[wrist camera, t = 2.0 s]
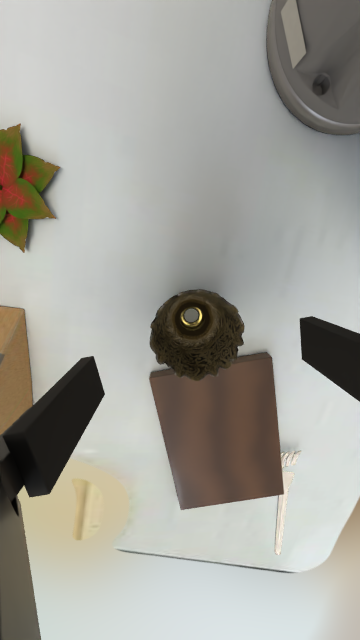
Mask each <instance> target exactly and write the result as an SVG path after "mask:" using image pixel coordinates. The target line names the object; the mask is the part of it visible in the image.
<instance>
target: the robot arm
mask: <svg viewBox="0 0 360 640" xmlns="http://www.w3.org/2000/svg"><path fill="white" fill-rule="evenodd" d="M267 54H268V62H269V67H270V72H271V75H272V79H273V82H274V84H275V87H276V89H277V91H278V93H279V95H280V97H281V99H282V100H283V102H284V104H285V105H286V106H287V108H288V109H289V110H290V111H291V112H292V114H293V115H294V116H295V117H296V118H298V119H299V120H300V121H301V122H303V123H304V124H306V125H307V126H309V127H311V128H313V129H315V130H317V131H320V132H323V133H328V134H334V135H349V134H355V133H359V132H360V0H272V2H271V6H270V11H269V17H268V25H267ZM300 333H301V351H302V360H304V361H305V362H307V363H308V364H309V365H311V366H312V367H313V368H315V369H316V370H317V371H319V372H320V373H321V374H323V375H324V376H326V377H327V378H328V379H330V380H331V381H332V382H334V383H335V384H336V385H338V386H339V387H341V388H342V389H343V390H345V391H346V392H347V393H349V394H350V395H351V396H353V397H354V398H355V399H357V400H358V401H360V334H359V333H356V332H353V331H351V330H348V329H345V328H343V327H340V326H337V325H334V324H332V323H329V322H326V321H323V320H321V319H318V318H315V317H313V316H311V317H305V318H300ZM104 395H105V393H104V390H103V386H102V383H101V380H100V376H99V373H98V369H97V366H96V363H95V359H94V356H91V357H85V358H81V359H80V360H79V361H78V362H77V363H76V364H75V365H74V366H73V367H72V368H71V369H70V370H69V371H68V372H67V373H66V374H65V375H64V376H63V377H62V378H61V379H60V380H59V381H58V382H57V383H56V384H55V385H54V386H53V387H52V388H51V389H50V390H49V391H48V392H47V393H46V394H45V395H44V396H43V397H42V398H41V399H40V400H38V401H37V402H36V403H35V404H34V405H33V406H32V407H30V408H29V409H27V410H26V411H25V412H24V413H23V414H22V415H21V416H20V417H19V419H17V420H16V421H15V422H14V423H13V424H12V425H11V426H10V427H9V428H7V429H6V430H5V431H4V432H3V433H2V434H1V435H0V640H41V636H40V629H39V623H38V616H37V610H36V603H35V597H34V590H33V583H32V577H31V570H30V564H29V557H28V550H27V544H26V537H25V530H24V524H23V517H22V511H21V504H20V501H19V499H18V497H17V494H18V493H19V491H20V490H21V489H22V487H23V486H25V488H26V490H27V492H28V495H29V497H35V496H41V495H47V494H50V492H51V490H52V489H53V487H54V485H55V483H56V481H57V480H58V478H59V476H60V474H61V472H62V471H63V469H64V467H65V465H66V463H67V462H68V460H69V458H70V456H71V454H72V453H73V451H74V449H75V447H76V445H77V444H78V442H79V440H80V438H81V436H82V434H83V433H84V431H85V429H86V427H87V425H88V424H89V422H90V420H91V418H92V416H93V415H94V413H95V411H96V409H97V407H98V406H99V404H100V402H101V400H102V398H103V397H104Z"/></svg>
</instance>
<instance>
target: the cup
mask: <svg viewBox="0 0 360 640" xmlns="http://www.w3.org/2000/svg"><path fill="white" fill-rule="evenodd" d="M190 308H193V309H195V310H197V312H198V314H199V317H198V319H197V320H196V321H195V322H192V323H191V322H187V321H186V320H185V318H184V313H185V311H186V310H188V309H190ZM151 328H152V332H151V336H150V347H151V349H152V351H153V352H154V353H155V354H156V360H157V362H158V363H159V364H160V365H161V364H164V363H166V364H167V366H168V367H171V368H172V369H174V372H175V375H176V376H177V377H179V378H182V377H184V376H186V377H187V378H188V379H190V380H193V381H200V380H202V379H203V378H205V377H206V376H207V375H209V374H210V376H213V377H217V376H218V370H219V367H220V368H222V369H228V368H230V367H231V365H232V361H234V360H237V352H238V348H237V347H238V346H242V345H243V344H244V342H243V339H242V337H241V336H242V333H243V332H244V323H243V321H242V319H241V317H240V315H239V314H238V310H237V308H236V307H235V306H234V305H231V304H230V303H228V302H227V301H226V300H225V299H224V298H222V297H221V296H219V295H218V294H217V293H214V292H210V291H207V290H200V289H199V290H189V291H184V292H181V293H178V294H177V295H175V296H173V297H172V298H170V299H169V300H168V301H166V302H165V303H164V304H163V305H162V306H161V307H160V308H159V310H158V311H157V313H156V317H155V319H154V320H153V322H152V323H151Z"/></svg>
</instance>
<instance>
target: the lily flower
mask: <svg viewBox="0 0 360 640" xmlns="http://www.w3.org/2000/svg"><path fill="white" fill-rule="evenodd" d="M20 126H21V123H20V124H18V125H17V126H13V127H10V128H7V130H4V129H2V130H0V234H1V235H2V236H3V237H4V238H5V239H6V240H8V241H9V242H11V243H12V244H14V245H15V246H19V247H20V249H21V250H22V251H23V252H25V249H24V248H25V243H26V241H25V239H26V238H27V232H28V219H44V218H46V217H49V218H54V219H56V218H55V217H54V216H53V215H52V213H51V212H50V210H49V208H48V207H47V206H46V205H45V202H44V201H43V199H42V198H41V196H40V195H39V193H40V192H41V191H42V190H43V189H44V188H45V187H46V185H47V184H48V183H49V181H50V180H51V179H52V177H53V175H54V172H55V171H57V170H58V169H59V168H60V167H59V166H55V165H53V164H51V163H49V162H47V163H45V162H44V160H43V159H40V158H38V157H35V156H31V155H22V143H21V135H20V132H19V131H20Z"/></svg>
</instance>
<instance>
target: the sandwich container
mask: <svg viewBox="0 0 360 640" xmlns="http://www.w3.org/2000/svg"><path fill="white" fill-rule="evenodd" d="M32 406H33V403H32V381H31V372H30V362H29V352H28V343H27V333H26V323H25V314H24V309H19V308H11V307H3V306H0V435H1V434H2V433H3V432H4V431H5V430H6V429H7V428H9V427H10V426H11V425H12V424H13V423H14V422H15V421H16V420H17V419H19V417H20V416H21V415H22V414H23V413H24V412H25V411H26V410H27V409H29V408H30V407H32Z"/></svg>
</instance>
